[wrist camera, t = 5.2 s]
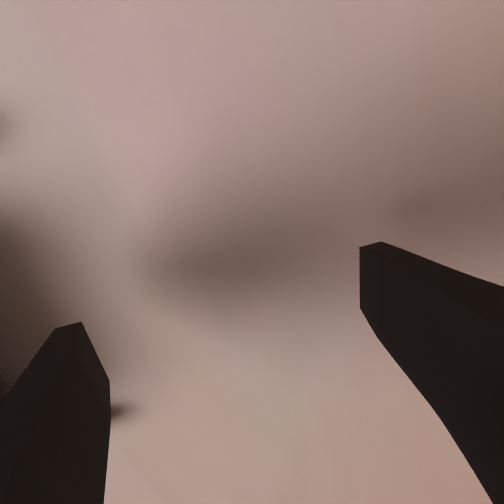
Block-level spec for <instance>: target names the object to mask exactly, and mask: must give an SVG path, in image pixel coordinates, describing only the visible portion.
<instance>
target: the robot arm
mask: <svg viewBox="0 0 504 504" xmlns="http://www.w3.org/2000/svg"><path fill="white" fill-rule="evenodd" d="M359 249H360V309H361V310H362V312H363V314H364V316H365V317H366V319H367V321H368V323H369V325H370V326H371V328H372V329H373V331H374V333H375V334H376V336H377V338H378V339H379V340H380V342H381V343H382V344H383V346H384V347H385V348H386V350H387V351H388V352H389V353H390V355H391V356H392V357H393V359H394V360H395V361H396V362H397V364H398V365H399V366H400V367H401V369H402V370H403V371H404V372H405V374H406V375H407V376H408V378H409V379H410V380H411V381H412V383H413V384H414V385H415V386H416V388H417V389H418V390H419V391H420V393H421V394H422V395H423V396H424V398H425V399H426V400H427V402H428V403H429V404H430V405H431V407H432V408H433V409H434V411H435V412H436V414H437V415H438V416H439V418H440V419H441V421H442V422H443V424H444V425H445V427H446V428H447V430H448V431H449V433H450V434H451V436H452V438H453V439H454V441H455V442H456V444H457V445H458V447H459V449H460V450H461V452H462V453H463V455H464V456H465V458H466V460H467V461H468V463H469V465H470V466H471V468H472V469H473V471H474V473H475V474H476V476H477V478H478V479H479V481H480V483H481V484H482V486H483V488H484V489H485V491H486V492H487V494H488V496H489V498H490V499H491V501H492V503H493V504H504V287H503V286H500V285H497V284H494V283H491V282H488V281H485V280H482V279H479V278H476V277H473V276H471V275H468V274H465V273H462V272H459V271H457V270H454V269H451V268H449V267H446V266H444V265H441V264H439V263H436V262H433V261H431V260H428V259H426V258H423V257H421V256H418V255H416V254H413V253H411V252H408V251H406V250H403V249H401V248H398V247H395V246H393V245H390V244H387V243H384V242H377V243H374V244H370V245H366V246H362V247H359ZM110 424H111V406H110V386H109V379H108V377H107V375H106V373H105V370H104V368H103V366H102V364H101V362H100V360H99V358H98V356H97V354H96V351H95V349H94V347H93V345H92V343H91V341H90V339H89V337H88V335H87V333H86V330H85V328H84V326H83V324H82V322H78V323H75V324H71V325H67V326H63V327H60V328H56V329H55V330H54V331H53V332H52V333H51V335H50V336H49V337H48V339H47V340H46V341H45V343H44V344H43V346H42V347H41V348H40V350H39V351H38V353H37V354H36V355H35V357H34V358H33V360H32V361H31V362H30V364H29V365H28V366H27V368H26V369H25V371H24V372H23V373H22V375H21V376H20V377H19V379H18V380H17V381H16V383H15V384H14V385H13V387H12V388H11V389H10V391H9V392H8V393H7V395H6V396H5V397H4V399H3V400H2V401H1V403H0V504H103V503H104V493H105V482H106V471H107V460H108V449H109V437H110Z"/></svg>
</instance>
